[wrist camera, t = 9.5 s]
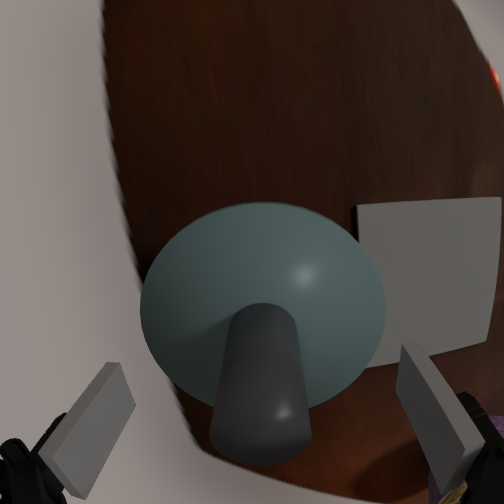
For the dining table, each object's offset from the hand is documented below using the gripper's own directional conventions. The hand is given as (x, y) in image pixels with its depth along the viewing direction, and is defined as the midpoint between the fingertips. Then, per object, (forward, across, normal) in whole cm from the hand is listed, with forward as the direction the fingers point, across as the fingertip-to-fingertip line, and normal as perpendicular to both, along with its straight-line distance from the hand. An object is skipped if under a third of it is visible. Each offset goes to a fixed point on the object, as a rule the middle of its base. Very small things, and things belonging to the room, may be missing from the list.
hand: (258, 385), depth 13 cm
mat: (+18, +18, -4) cm, 26 cm away
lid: (+6, 0, 0) cm, 6 cm away
